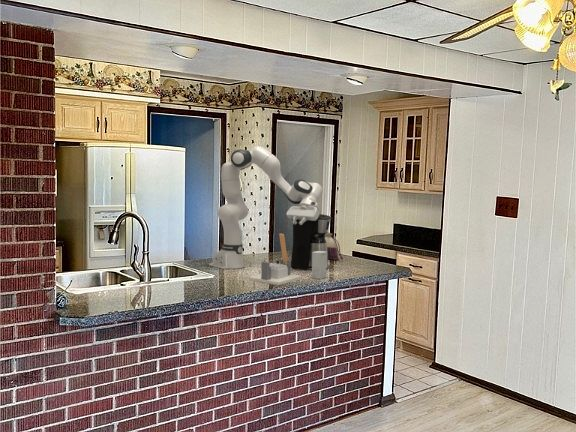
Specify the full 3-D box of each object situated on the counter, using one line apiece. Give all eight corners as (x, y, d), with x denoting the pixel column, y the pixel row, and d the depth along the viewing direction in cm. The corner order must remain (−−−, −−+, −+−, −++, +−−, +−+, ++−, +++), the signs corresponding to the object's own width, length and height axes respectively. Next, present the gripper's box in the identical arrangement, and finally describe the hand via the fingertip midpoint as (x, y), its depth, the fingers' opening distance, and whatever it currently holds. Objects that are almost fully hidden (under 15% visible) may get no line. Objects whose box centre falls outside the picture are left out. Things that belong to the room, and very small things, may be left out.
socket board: (248, 279, 296) (249, 260, 295) (273, 274, 314) (273, 255, 313) (278, 285, 285) (278, 264, 284) (301, 278, 302) (302, 259, 302)
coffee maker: (332, 271, 328) (334, 215, 325) (279, 271, 324) (280, 214, 321) (324, 264, 350) (326, 212, 347) (275, 264, 346) (276, 211, 343)
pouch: (309, 258, 374) (309, 230, 372) (315, 256, 381) (315, 229, 379) (341, 262, 361) (342, 233, 359) (347, 260, 367) (348, 232, 366)
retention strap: (283, 263, 307) (283, 262, 307) (287, 263, 305) (288, 263, 305) (279, 234, 302) (279, 233, 302) (283, 234, 300) (284, 234, 300)
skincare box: (320, 279, 303) (321, 252, 301) (310, 278, 306) (311, 251, 304) (327, 277, 310) (328, 251, 309) (317, 275, 313) (318, 250, 312)
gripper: (290, 201, 324) (280, 218, 317) (319, 203, 312) (309, 221, 305) (294, 208, 328) (284, 225, 321) (323, 210, 316) (313, 228, 309)
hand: (297, 223), depth 312 cm, fingers open, 3 cm apart
